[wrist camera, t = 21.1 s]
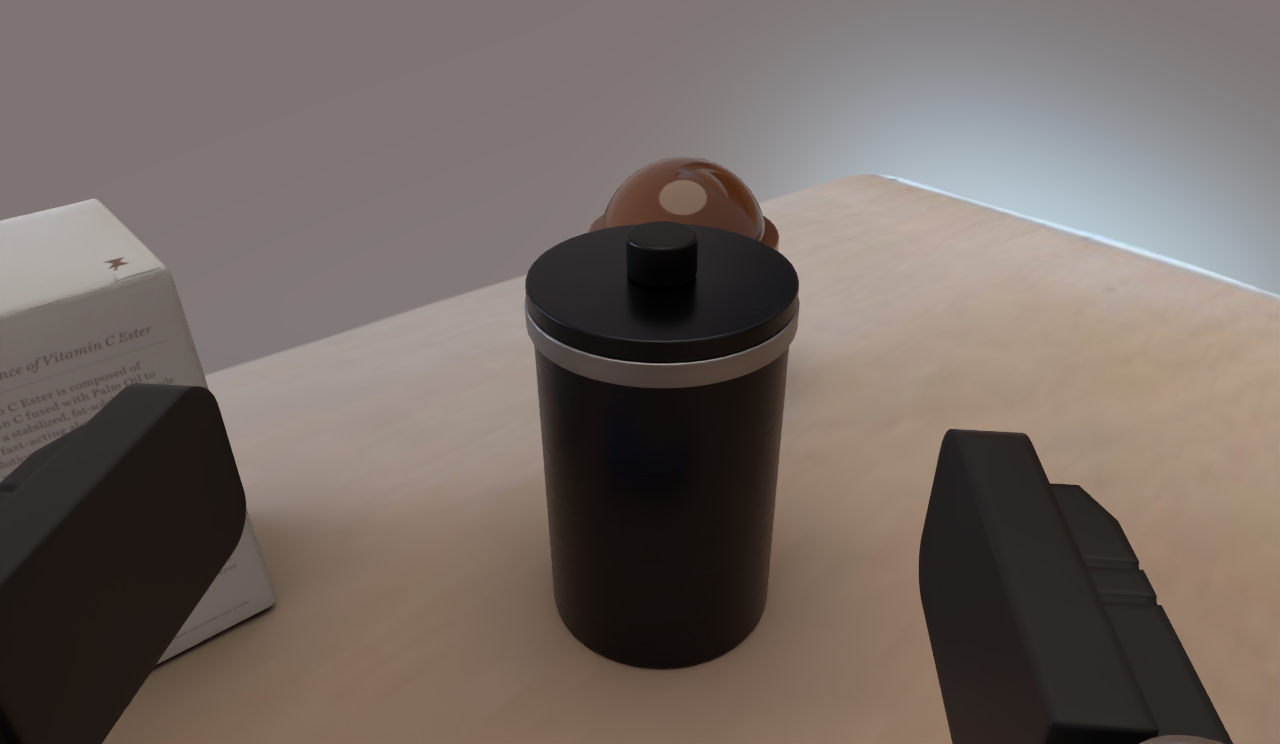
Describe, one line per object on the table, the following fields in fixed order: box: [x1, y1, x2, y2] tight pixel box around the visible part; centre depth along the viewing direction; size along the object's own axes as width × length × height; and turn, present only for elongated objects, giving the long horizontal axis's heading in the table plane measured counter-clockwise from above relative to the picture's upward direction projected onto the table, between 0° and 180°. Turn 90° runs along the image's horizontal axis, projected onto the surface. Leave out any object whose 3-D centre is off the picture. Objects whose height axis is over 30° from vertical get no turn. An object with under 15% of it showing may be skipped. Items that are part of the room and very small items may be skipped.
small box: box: [0, 199, 275, 665], centre depth 22 cm, size 8×6×10 cm
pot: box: [525, 221, 799, 668], centre depth 23 cm, size 6×6×11 cm
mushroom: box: [588, 157, 779, 251], centre depth 33 cm, size 7×7×9 cm
